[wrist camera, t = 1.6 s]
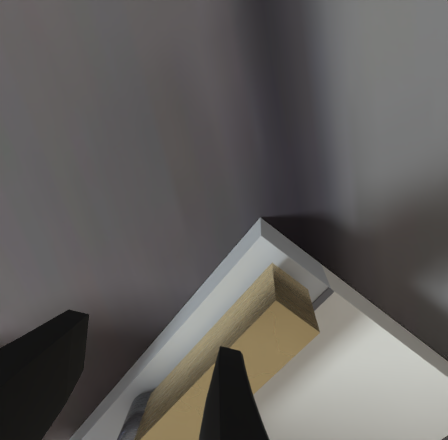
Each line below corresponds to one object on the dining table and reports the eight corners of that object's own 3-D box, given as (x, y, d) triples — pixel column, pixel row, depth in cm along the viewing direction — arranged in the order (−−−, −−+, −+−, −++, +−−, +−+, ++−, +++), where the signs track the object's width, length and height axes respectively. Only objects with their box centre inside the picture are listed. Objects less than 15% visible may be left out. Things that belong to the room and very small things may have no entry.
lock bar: (163, 441, 19) (145, 505, 16) (120, 414, 19) (93, 474, 16) (314, 292, 15) (328, 339, 12) (264, 255, 15) (267, 293, 12)
